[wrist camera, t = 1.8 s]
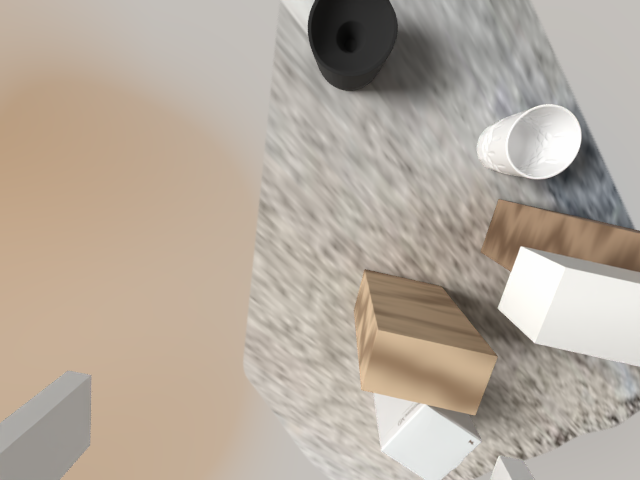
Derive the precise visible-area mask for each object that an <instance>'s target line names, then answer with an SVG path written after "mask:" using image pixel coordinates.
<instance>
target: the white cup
mask: <svg viewBox="0 0 640 480" xmlns="http://www.w3.org/2000/svg"><path fill="white" fill-rule="evenodd" d="M581 138H582V134H581V128H580V124H579V122H578V120H577V118H576V117H575V116H574V114H573V113H572V112H570V111H569V110H568V109H566V108H564V107H562V106H559V105H554V104H545V105H540V106H536V107H533V108H531V109H528V110H525V111H522V112H519V113H517V114H514V115H512V116H509V117H507V118H504V119H502V120H500V121H497V122H496V123H494V124H492V125H490V126H488V127H487V128H486V129H485V130H484V132H483V133H482V134H481V135H480V137H479V140H478V144H477V154H478V159H479V160H480V161H481V163H482V164H483V165H484V166H485V167H486V168H489V169H491V170H493V171H496V172H500V173H504V174H509V175H513V176H519V177H525V178H531V179H546V178H550V177H553V176H555V175H557V174H559V173H561V172H562V171H564V170H565V169H566V168H567V167H568V166H569V165H570V164H571V163H572V162H573V160H574V159H575V157H576V156H577V154H578V151H579V149H580V145H581Z"/></svg>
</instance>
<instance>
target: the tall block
mask: <svg viewBox="0 0 640 480" xmlns="http://www.w3.org/2000/svg"><path fill="white" fill-rule="evenodd" d="M521 246H522V247H527V248H532V249H536V250H541V251H545V252H550V253H554V254H559V255H563V256H568V257H572V258H577V259H581V260H586V261H591V262H595V263H600V264H604V265H609V266H613V267H618V268H622V269H627V270H631V271H636V272H640V231H638V230H634V229H630V228H625V227H621V226H617V225H613V224H608V223H604V222H600V221H595V220H591V219H586V218H582V217H577V216H573V215H568V214H564V213H559V212H554V211H550V210H545V209H541V208H536V207H532V206H527V205H523V204H518V203H513V202H509V201H504V200H500V199H499V200H498V203H497V205H496V208H495V211H494V214H493V217H492V220H491V223H490V226H489V229H488V232H487V235H486V238H485V241H484V244H483V247H482V249H481V253H483V254H484V255H486V256H488V257H489V258H491V259H492V260H494V261H495V262H497V263H498V264H500V265H501V266H503V267H504V268H506V269H508V270H509V271H512V268H513V266H514V263H515V260H516V258H517V255H518V252H519V249H520V247H521Z"/></svg>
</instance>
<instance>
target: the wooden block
mask: <svg viewBox="0 0 640 480" xmlns="http://www.w3.org/2000/svg"><path fill="white" fill-rule="evenodd" d="M354 316H355V327H356V337H357V348H358V359H359V370H360V380H361V390H363V391H368V392H372V393H377V394H381V395H386V396H390V397H395V398H399V399H404V400H408V401H413V402H417V403H421V404H426V405H430V406H435V407H439V408H444V409H448V410H453V411H457V412H462V413H466V414H470V415H476V412H477V410H478V407H479V405H480V402H481V399H482V397H483V394H484V392H485V389H486V386H487V384H488V381H489V379H490V376H491V373H492V371H493V368H494V365H495V363H496V360H497V358H498V356H497V355H496V354H495V352H494V351H493V350H492V349H491V347H490V346H489V345H488V344H487V342H486V341H485V340H484V339H483V337H482V336H481V335H480V334H479V332H478V331H477V330H476V329H475V328H474V326H473V325H472V324H471V323H470V321H469V320H468V319H467V318H466V316H465V315H464V314H463V313H462V311H461V310H460V309H459V308H458V306H457V305H456V304H455V303H454V301H453V300H452V299H451V298H450V296H449V295H448V294H447V293H446V292H445V290H444V289H443V288H442V287H441V286H437V285H433V284H428V283H424V282H419V281H415V280H410V279H406V278H401V277H397V276H392V275H388V274H383V273H379V272H374V271H370V270H364V274H363V278H362V281H361V285H360V289H359V293H358V297H357V301H356V305H355V309H354Z"/></svg>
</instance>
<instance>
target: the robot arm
mask: <svg viewBox="0 0 640 480" xmlns="http://www.w3.org/2000/svg"><path fill="white" fill-rule="evenodd" d="M90 421H91V375H88V374H83V373H78V372H73V371H67V372H65V373H64V374H63V375H62V376H60V377H59V378H58V379H56V380H55V381H54V382H53V383H51V384H50V385H49V386H47V387H46V388H45V389H43V390H42V391H41V392H40V393H39V394H37V395H36V396H34V397H33V398H32V399H31V400H29V401H28V402H27V403H25V404H24V405H23V406H22V407H20V408H19V409H18V410H16V411H15V412H14V413H12V414H11V415H10V416H9V417H7V418H6V419H5V420H3V421H2V422H1V423H0V480H60V479H61V478H62V477H63V475H64V474H65V473H66V472H67V471H68V470H69V468H71V466H72V465H73V464H74V463H75V462H76V461H77V460H78V458H79V457H80V456H81V455H82V454H83V453H84V451H85V450H86V449H87V448H88V447H89V446H90V424H91V422H90ZM490 480H535V479H534V477H533V476H532V474H531V472H530V470H529V469H528V467H527V465H526V464H525V462H524V461H523V460H520V459H515V458H510V457H505V456H500V455H499V457H498V459H497V462H496V465H495V467H494V470H493V473H492V475H491V478H490Z"/></svg>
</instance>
